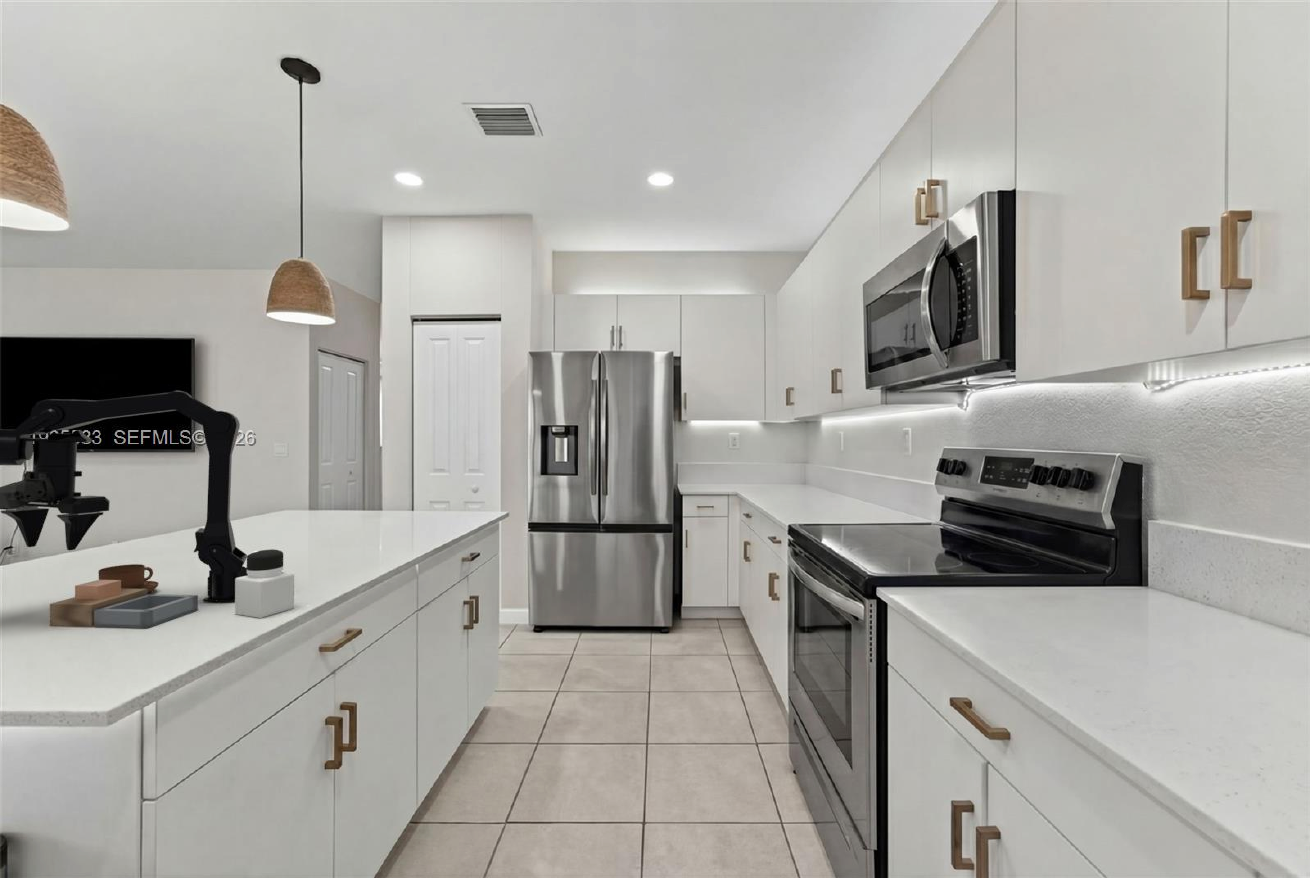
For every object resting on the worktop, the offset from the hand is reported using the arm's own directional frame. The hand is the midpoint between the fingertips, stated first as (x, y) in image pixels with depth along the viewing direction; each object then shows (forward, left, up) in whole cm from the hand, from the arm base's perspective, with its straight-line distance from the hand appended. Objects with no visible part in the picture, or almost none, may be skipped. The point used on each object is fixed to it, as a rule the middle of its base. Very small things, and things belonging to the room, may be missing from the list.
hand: (51, 548), depth 111 cm
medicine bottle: (-37, -7, -13) cm, 40 cm away
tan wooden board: (-9, -1, -13) cm, 16 cm away
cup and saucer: (+1, -15, -14) cm, 20 cm away
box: (-18, -1, -13) cm, 22 cm away
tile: (-8, -1, -9) cm, 12 cm away
